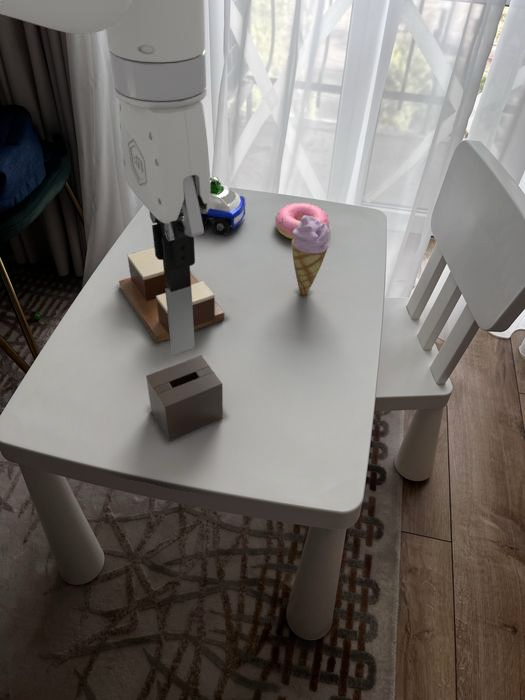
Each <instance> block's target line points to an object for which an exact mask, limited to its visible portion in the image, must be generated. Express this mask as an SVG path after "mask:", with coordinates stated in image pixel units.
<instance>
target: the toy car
mask: <svg viewBox="0 0 525 700" xmlns="http://www.w3.org/2000/svg"><path fill="white" fill-rule="evenodd" d="M245 215H246V197H245V196H243V195H239V194H238V193H237V192H236V191H234V190H232V189H231V188H230V187H228V186H226V185H223V184H222V182H220V179H219V178H218V177H217V176H212V177H211V176H210V207H209V210H208V212H207V213H206V214H203V213H201V218H202V223H203V228H204V227H205V225H206V224H207V223H208V219H212V220H213V221H212V223H211V227H212V230H213V231H214V233H216V234H218V235H221V236H223V235H226V234H228V232H229V230H230V229H231V228H232V229H235V228H236V227H237V226H238V225H240V224H241V222H242V221H243V220H244V217H245Z"/></svg>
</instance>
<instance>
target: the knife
mask: <svg viewBox="0 0 525 700" xmlns="http://www.w3.org/2000/svg"><path fill="white" fill-rule="evenodd" d="M181 220H184V216H182V217H178V218H177V220H176V221H174V224H175V222H177V221H181ZM159 227H160V237H161V247H162V257H163V267H164V276H165V285H166V286H167V287H168V288H166V289H165V292H166V302H167V312H168V322H169V331H170V339H169V340H170V350H171V355H172V356H173V355H177V354H180V353H183V352H185V351H188V350H190V349H193V348H195V347H196V343H195V330H194V324H193V307H192V290H191V278H190V272H191V266H188V267H185V268H182V269H178V270H175V271H172V272H168V271H167V270H166V269H165V265H164V255H163V245H162V237H163V236H165V229H164V223H162V222H161V221H159Z"/></svg>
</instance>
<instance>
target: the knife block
mask: <svg viewBox="0 0 525 700" xmlns="http://www.w3.org/2000/svg"><path fill="white" fill-rule="evenodd" d="M145 377H146V385H147V391H148V397H149V404H150V410H151V412H152V414H153V416H154V417H155V419H156V421H157V422H158V424H159V426H160V428H161V430H162V431H163V433H164V434H165V436H166V438H167V440H168V441H169V442H171V441H173V440H175V439H177V438H179V437H182V436H185V435H186V434H189V433H191V432H193V431H196V430H198V429H200V428H202V427H205V426H207V425H209V424H211V423H214V422H216V421H218V420H221V419H223V418H224V417H223V415H224V413H223V411H224V410H223V409H224V407H223V404H224V403H223V402H224V401H223V396H224V395H223V392H224V391H223V382H222V381H221V379H220V378H219V377H218V376H217V374H216V372H214V370H213V369H212V367H211V366H210V365H209V363H208V362H207V361H206V359H205V358H204V356H203V355H202V354H200V355H198V356H196V357H192V358H189V359H188V360H187V359H186V360H185V361H182V362H179V363H176V364H174V365H171V366H167V367H166V368H163V369H160V370H158V371H155V372H152V373H150V374H147V375H145Z"/></svg>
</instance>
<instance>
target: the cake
mask: <svg viewBox="0 0 525 700" xmlns="http://www.w3.org/2000/svg"><path fill="white" fill-rule="evenodd" d="M126 256H127V261H128V269H129V275H130V277H131V279H132V281H133V282H134V284H135V285H136V287H137V288H138V290H139V291H140V292H141V294H142V295H143V297H144V298H145V300H146V301H149V300H153V299H156V296H157V295H161V294H164V293H166V292H165V289H166V288H168V287H167V286H166V285H165V276H164V267H163V260H158V259H157V257H156V256H155V248H154V247H151V248H147V249H143V250H139V251H137V252H133V253H129V254H127V255H126Z"/></svg>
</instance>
